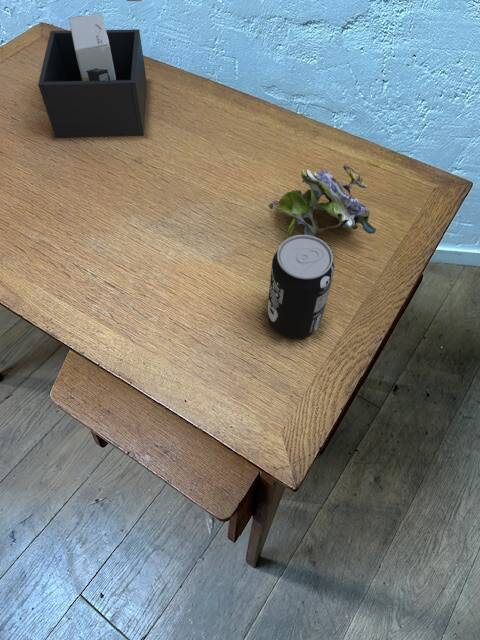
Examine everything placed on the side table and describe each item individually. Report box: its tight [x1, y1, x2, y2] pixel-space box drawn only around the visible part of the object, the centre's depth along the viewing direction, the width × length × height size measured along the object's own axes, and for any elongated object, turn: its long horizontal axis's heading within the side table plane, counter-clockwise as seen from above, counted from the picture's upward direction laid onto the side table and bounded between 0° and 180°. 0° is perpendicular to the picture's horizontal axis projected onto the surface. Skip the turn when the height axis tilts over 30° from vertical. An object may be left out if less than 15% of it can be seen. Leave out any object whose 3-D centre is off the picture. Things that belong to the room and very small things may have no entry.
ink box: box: [68, 13, 116, 81], centre depth 82 cm, size 9×5×12 cm, turn 15°
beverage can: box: [266, 234, 335, 340], centre depth 62 cm, size 7×7×12 cm
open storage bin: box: [37, 28, 148, 139], centre depth 84 cm, size 13×13×9 cm
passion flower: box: [268, 164, 377, 239], centre depth 71 cm, size 11×11×12 cm
